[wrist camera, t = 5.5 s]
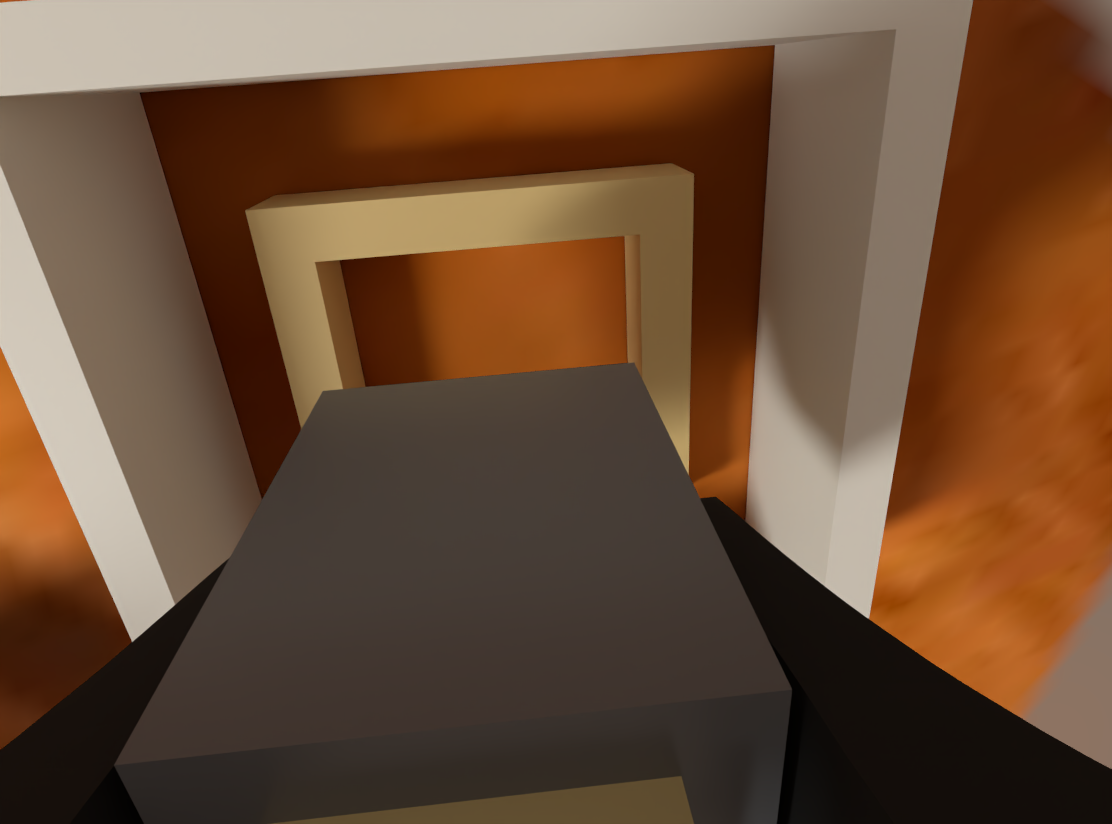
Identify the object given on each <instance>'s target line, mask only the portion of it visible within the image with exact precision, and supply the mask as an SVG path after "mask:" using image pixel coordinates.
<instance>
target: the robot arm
mask: <svg viewBox="0 0 1112 824" xmlns="http://www.w3.org/2000/svg"><path fill="white" fill-rule="evenodd" d="M700 500H701V502H702V504H703V506H704V508H705V510H706V512H707V514H708V516H709V518H710V520H711V522H712V525H713V527H714V529H715V531H716V533H717V535H718V537H719V539H720V541H721V543H722V545H723V547H724V549H725V551H726V554H727V556H728V558H729V560H730V562H731V564H732V566H733V568H734V570H735V572H736V574H737V576H738V578H739V580H740V583H741V585H742V587H743V589H744V591H745V593H746V595H747V597H748V599H749V601H750V603H751V605H752V607H753V609H754V612H755V614H756V616H757V618H758V620H759V622H760V624H761V626H762V628H763V630H764V632H765V634H766V636H767V638H768V641H769V643H770V645H771V647H772V649H773V651H774V653H775V655H776V657H777V659H778V661H779V663H780V665H781V667H782V670H783V672H784V674H785V676H786V678H787V680H788V682H789V684H790V686H791V688H792V696H791V704H790V713H789V722H788V730H787V739H786V748H785V756H784V765H783V774H782V782H781V791H780V800H779V808H778V817H777V824H1112V769H1110V768H1108V767H1106V766H1104V765H1102V764H1101V763H1099V762H1097V761H1095V760H1093V759H1091V758H1089V757H1087V756H1086V755H1084V754H1082V753H1080V752H1078V751H1077V750H1075V749H1073V748H1071V747H1070V746H1068V745H1066V744H1064V743H1063V742H1061V741H1059V740H1057V739H1055V738H1054V737H1052V736H1050V735H1048V734H1047V733H1045V732H1043V731H1041V730H1040V729H1038V728H1036V727H1035V726H1033V725H1031V724H1030V723H1028V722H1026V721H1025V720H1023V719H1022V718H1020V717H1018V716H1017V715H1015V714H1013V713H1012V712H1010V711H1008V710H1007V709H1005V708H1003V707H1002V706H1000V705H998V704H997V703H995V702H993V701H992V700H990V699H988V698H987V697H985V696H984V695H982V694H980V693H979V692H977V691H975V690H974V689H972V688H970V687H969V686H967V685H965V684H964V683H962V682H961V681H959V680H957V679H956V678H954V677H953V676H951V675H950V674H948V673H947V672H945V671H944V670H942V669H940V668H939V667H937V666H936V665H934V664H933V663H931V662H930V661H928V660H927V659H925V658H924V657H922V656H921V655H919V654H918V653H917V652H915V651H914V650H912V649H911V648H909V647H908V646H906V645H905V644H904V643H902V642H901V641H899V640H898V639H896V638H895V637H894V636H892V635H891V634H889V633H888V632H886V631H885V630H883V629H882V628H881V627H879V626H878V625H876V624H875V623H873V622H872V621H871V620H869V619H868V618H866V617H865V616H864V615H862V614H861V613H860V612H858V611H857V610H856V609H854V608H853V607H852V606H850V605H849V604H847V603H846V602H845V601H843V600H842V599H841V598H839V597H838V596H837V595H836V594H834V593H833V592H832V591H830V590H829V589H828V588H826V587H825V586H824V585H823V584H821V583H820V582H819V581H817V580H816V579H815V578H814V577H812V576H811V575H810V574H808V573H807V572H806V571H805V570H803V569H802V568H801V567H800V566H798V565H797V564H796V563H795V562H794V561H792V560H791V559H790V558H789V557H787V556H786V555H785V554H784V553H782V552H781V551H780V550H779V549H778V548H776V547H775V546H774V545H773V544H772V543H770V542H769V541H768V540H767V539H766V538H764V537H763V536H762V535H761V534H760V533H758V532H757V531H756V530H755V529H754V528H752V527H751V526H750V525H749V524H748V523H747V522H745V521H744V520H743V519H742V518H741V517H739V516H738V515H737V514H736V513H735V512H734V511H732V510H731V509H730V508H729V507H728V506H726V505H725V504H724V503H723V502H721V501H720V500H719V499H718V498H717V497H709V498H700ZM228 560H229V558H228V559H227V560H226V561H225V562H224V563H222V564H221V565H220V566H219V567H218V568H217V569H215V570H214V571H213V572H212V573H211V574H210V575H208V576H207V577H206V578H205V579H204V580H203V581H202V582H200V583H199V584H198V585H197V586H196V587H195V588H194V589H192V590H191V591H190V592H189V593H188V594H187V595H186V596H184V597H183V598H182V599H181V600H180V601H179V602H178V603H177V604H175V605H174V606H173V607H172V608H171V609H170V610H169V611H167V612H166V613H165V614H164V615H163V616H162V617H161V618H159V619H158V620H157V621H156V622H155V623H154V624H152V625H151V626H150V627H149V628H148V629H147V630H146V631H144V632H143V633H142V634H141V635H140V636H139V637H137V638H136V639H135V640H134V641H133V642H132V643H131V644H129V645H128V646H127V647H126V648H125V649H124V650H122V651H121V652H120V653H119V654H118V655H117V656H115V657H114V658H113V659H112V660H111V661H110V662H109V663H107V664H106V665H105V666H104V667H103V668H101V669H100V670H99V671H98V672H97V673H95V674H94V675H93V676H92V677H91V678H89V679H88V680H87V681H86V682H84V683H83V684H82V685H81V686H79V687H78V688H77V689H76V690H74V691H73V692H72V693H71V694H69V695H68V696H67V697H66V698H65V699H63V700H62V701H61V702H60V703H58V704H57V705H56V706H55V707H53V708H52V709H51V710H50V711H48V712H47V713H46V714H45V715H44V716H42V717H41V718H40V719H39V720H37V721H36V722H35V723H34V724H32V725H31V726H30V727H29V728H27V729H26V730H25V731H24V732H22V733H21V734H20V735H19V736H18V737H16V738H15V739H14V740H13V741H11V742H10V743H9V744H8V745H6V746H5V747H4V748H3V749H1V750H0V824H144V822H143V821H142V819H141V817H140V815H139V813H138V811H137V809H136V807H135V805H134V803H133V801H132V799H131V797H130V795H129V793H128V792H127V790H126V788H125V786H124V784H123V782H122V780H121V778H120V776H119V774H118V772H117V770H116V768H115V766H114V764H115V763H116V761H117V759H118V757H119V755H120V754H121V752H122V750H123V748H124V746H125V745H126V743H127V741H128V739H129V737H130V736H131V734H132V732H133V730H134V729H135V727H136V725H137V723H138V721H139V720H140V718H141V716H142V714H143V712H144V711H145V709H146V707H147V705H148V703H149V702H150V700H151V698H152V696H153V694H154V693H155V691H156V689H157V687H158V685H159V684H160V682H161V680H162V678H163V677H164V675H165V673H166V671H167V669H168V668H169V666H170V664H171V662H172V660H173V659H174V657H175V655H176V653H177V651H178V650H179V648H180V646H181V644H182V642H183V641H184V639H185V637H186V635H187V633H188V632H189V630H190V628H191V626H192V625H193V623H194V621H195V619H196V617H197V616H198V614H199V612H200V610H201V608H202V607H203V605H204V603H205V601H206V599H207V598H208V596H209V594H210V592H211V590H212V589H213V587H214V585H215V583H216V581H217V580H218V578H219V576H220V574H221V573H222V571H223V569H224V567H225V565H226V564H227V562H228Z"/></svg>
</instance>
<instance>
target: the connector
mask: <svg viewBox="0 0 1112 824" xmlns="http://www.w3.org/2000/svg"><path fill="white" fill-rule="evenodd" d="M791 696H792V688H791V686H790V684H789V682H788V680H787V678H786V676H785V674H784V672H783V670H782V667H781V665H780V663H779V661H778V659H777V657H776V655H775V653H774V651H773V649H772V647H771V645H770V643H769V641H768V638H767V636H766V634H765V632H764V630H763V628H762V626H761V624H760V622H759V620H758V618H757V616H756V614H755V612H754V609H753V607H752V605H751V603H750V601H749V599H748V597H747V595H746V593H745V591H744V589H743V587H742V585H741V583H740V580H739V578H738V576H737V574H736V572H735V570H734V568H733V566H732V564H731V562H730V560H729V558H728V556H727V554H726V551H725V549H724V547H723V545H722V543H721V541H720V539H719V537H718V535H717V533H716V531H715V529H714V527H713V525H712V522H711V520H710V518H709V516H708V514H707V512H706V510H705V508H704V506H703V504H702V502H701V500H700V498H699V496H698V494H697V491H696V489H695V487H694V485H693V483H692V481H691V479H690V477H689V475H688V473H687V471H686V469H685V467H684V465H683V462H682V460H681V458H680V456H679V454H678V452H677V450H676V448H675V446H674V444H673V442H672V440H671V438H670V436H669V433H668V431H667V429H666V427H665V425H664V423H663V421H662V419H661V417H660V415H659V413H658V411H657V409H656V407H655V404H654V402H653V400H652V398H651V396H650V394H649V392H648V390H647V388H646V386H645V384H644V382H643V380H642V378H641V375H640V373H639V371H638V369H637V367H636V365H635V363H634V362H633V363H622V364H611V365H600V366H589V367H578V368H567V369H557V370H546V371H535V372H524V373H513V374H502V375H491V376H480V377H469V378H458V379H447V380H436V381H426V382H415V383H404V384H393V385H382V386H371V387H360V388H349V389H338V390H327V391H322V393H321V395H320V397H319V399H318V400H317V402H316V404H315V406H314V408H313V409H312V411H311V413H310V415H309V417H308V418H307V420H306V422H305V424H304V425H303V427H302V429H301V431H300V433H299V434H298V436H297V438H296V440H295V442H294V443H293V445H292V447H291V449H290V451H289V452H288V454H287V456H286V458H285V460H284V461H283V463H282V465H281V467H280V469H279V470H278V472H277V474H276V476H275V477H274V479H273V481H272V483H271V485H270V486H269V488H268V490H267V492H266V494H265V495H264V497H263V499H262V501H261V503H260V504H259V506H258V508H257V510H256V512H255V513H254V515H253V517H252V519H251V521H250V522H249V524H248V526H247V528H246V529H245V531H244V533H243V535H242V537H241V538H240V540H239V542H238V544H237V546H236V547H235V549H234V551H233V553H232V555H231V556H230V558H229V560H228V562H227V564H226V565H225V567H224V569H223V571H222V573H221V574H220V576H219V578H218V580H217V581H216V583H215V585H214V587H213V589H212V590H211V592H210V594H209V596H208V598H207V599H206V601H205V603H204V605H203V607H202V608H201V610H200V612H199V614H198V616H197V617H196V619H195V621H194V623H193V625H192V626H191V628H190V630H189V632H188V633H187V635H186V637H185V639H184V641H183V642H182V644H181V646H180V648H179V650H178V651H177V653H176V655H175V657H174V659H173V660H172V662H171V664H170V666H169V668H168V669H167V671H166V673H165V675H164V677H163V678H162V680H161V682H160V684H159V685H158V687H157V689H156V691H155V693H154V694H153V696H152V698H151V700H150V702H149V703H148V705H147V707H146V709H145V711H144V712H143V714H142V716H141V718H140V720H139V721H138V723H137V725H136V727H135V729H134V730H133V732H132V734H131V736H130V737H129V739H128V741H127V743H126V745H125V746H124V748H123V750H122V752H121V754H120V755H119V757H118V759H117V761H116V763H115V764H114V766H115V768H116V770H117V772H118V774H119V776H120V778H121V780H122V782H123V784H124V786H125V788H126V790H127V792H128V793H129V795H130V797H131V799H132V801H133V803H134V805H135V807H136V809H137V811H138V813H139V815H140V817H141V819H142V821H143V822H144V824H777V817H778V808H779V800H780V791H781V782H782V774H783V765H784V756H785V748H786V739H787V730H788V722H789V713H790V704H791Z"/></svg>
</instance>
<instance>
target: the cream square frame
mask: <svg viewBox="0 0 1112 824" xmlns="http://www.w3.org/2000/svg"><path fill="white" fill-rule="evenodd" d="M972 4H973V0H33V1H18V2H4V3H0V346H1V349H2V351H3V353H4V355H5V358H6V360H7V362H8V364H9V367H10V369H11V371H12V373H13V376H14V378H15V380H16V382H17V385H18V387H19V389H20V391H21V394H22V396H23V398H24V400H25V403H26V405H27V407H28V409H29V412H30V414H31V416H32V418H33V420H34V423H35V425H36V427H37V429H38V432H39V434H40V436H41V438H42V441H43V443H44V445H45V447H46V450H47V452H48V454H49V456H50V459H51V461H52V463H53V465H54V468H55V470H56V472H57V474H58V477H59V479H60V481H61V483H62V486H63V488H64V490H65V492H66V495H67V497H68V499H69V501H70V503H71V506H72V508H73V510H74V512H75V515H76V517H77V519H78V521H79V524H80V526H81V528H82V530H83V533H84V535H85V537H86V539H87V542H88V544H89V546H90V548H91V551H92V553H93V555H94V557H95V560H96V562H97V564H98V566H99V569H100V571H101V573H102V575H103V578H104V580H105V582H106V584H107V586H108V589H109V591H110V593H111V595H112V598H113V600H114V602H115V604H116V607H117V609H118V611H119V613H120V616H121V618H122V620H123V622H124V625H125V627H126V629H127V631H128V634H129V636H130V638H131V640H132V642H133V641H134V640H135V639H136V638H137V637H139V636H140V635H141V634H142V633H143V632H144V631H146V630H147V629H148V628H149V627H150V626H151V625H152V624H154V623H155V622H156V621H157V620H158V619H159V618H161V617H162V616H163V615H164V614H165V613H166V612H167V611H169V610H170V609H171V608H172V607H173V606H174V605H175V604H177V603H178V602H179V601H180V600H181V599H182V598H183V597H184V596H186V595H187V594H188V593H189V592H190V591H191V590H192V589H194V588H195V587H196V586H197V585H198V584H199V583H200V582H202V581H203V580H204V579H205V578H206V577H207V576H208V575H210V574H211V573H212V572H213V571H214V570H215V569H217V568H218V567H219V566H220V565H221V564H222V563H224V562H225V561H226V560H227V559H228V558H230V556H231V555H232V553H233V551H234V549H235V547H236V546H237V544H238V542H239V540H240V538H241V537H242V535H243V533H244V531H245V529H246V528H247V526H248V524H249V522H250V521H251V519H252V517H253V515H254V513H255V512H256V510H257V508H258V506H259V504H260V503H261V501H262V498H261V495H260V492H259V488H258V485H257V482H256V478H255V475H254V472H253V468H252V465H251V462H250V458H249V455H248V452H247V448H246V445H245V442H244V438H243V435H242V432H241V429H240V425H239V422H238V419H237V415H236V412H235V409H234V405H233V402H232V399H231V395H230V392H229V389H228V385H227V382H226V379H225V375H224V372H223V369H222V365H221V362H220V359H219V355H218V352H217V349H216V345H215V342H214V339H213V336H212V332H211V329H210V326H209V322H208V319H207V316H206V312H205V309H204V306H203V302H202V299H201V296H200V292H199V289H198V286H197V282H196V279H195V276H194V272H193V269H192V266H191V262H190V259H189V256H188V252H187V249H186V246H185V243H184V239H183V236H182V233H181V229H180V226H179V223H178V219H177V216H176V213H175V209H174V206H173V203H172V199H171V196H170V193H169V189H168V186H167V183H166V179H165V176H164V173H163V169H162V166H161V163H160V159H159V156H158V153H157V150H156V146H155V143H154V140H153V136H152V133H151V130H150V126H149V123H148V120H147V116H146V113H145V110H144V106H143V103H142V100H141V96H140V93H141V92H155V91H168V90H181V89H195V88H208V87H221V86H235V85H248V84H261V83H275V82H288V81H301V80H315V79H328V78H341V77H355V76H368V75H381V74H395V73H408V72H421V71H435V70H448V69H462V68H475V67H488V66H502V65H515V64H528V63H542V62H555V61H568V60H582V59H595V58H608V57H622V56H635V55H648V54H662V53H675V52H688V51H702V50H715V49H728V48H742V47H755V46H768V45H775V53H774V69H773V85H772V101H771V117H770V133H769V149H768V166H767V182H766V198H765V214H764V230H763V246H762V262H761V278H760V294H759V310H758V326H757V343H756V359H755V375H754V391H753V407H752V423H751V439H750V455H749V471H748V487H747V503H746V520H745V522H747V523H748V524H749V525H750V526H751V527H752V528H754V529H755V530H756V531H757V532H758V533H760V534H761V535H762V536H763V537H764V538H766V539H767V540H768V541H769V542H770V543H772V544H773V545H774V546H775V547H776V548H778V549H779V550H780V551H781V552H782V553H784V554H785V555H786V556H787V557H789V558H790V559H791V560H792V561H794V562H795V563H796V564H797V565H798V566H800V567H801V568H802V569H803V570H805V571H806V572H807V573H808V574H810V575H811V576H812V577H814V578H815V579H816V580H817V581H819V582H820V583H821V584H823V585H824V586H825V587H826V588H828V589H829V590H830V591H832V592H833V593H834V594H836V595H837V596H838V597H839V598H841V599H842V600H843V601H845V602H846V603H847V604H849V605H850V606H852V607H853V608H854V609H856V610H857V611H858V612H860V613H861V614H862V615H864V616H865V617H866V618H868V619H869V615H870V609H871V603H872V597H873V591H874V585H875V579H876V573H877V567H878V561H879V555H880V549H881V544H882V538H883V532H884V526H885V520H886V514H887V508H888V502H889V496H890V490H891V484H892V478H893V472H894V466H895V461H896V455H897V449H898V443H899V437H900V431H901V425H902V419H903V413H904V407H905V401H906V395H907V389H908V383H909V378H910V372H911V366H912V360H913V354H914V348H915V342H916V336H917V330H918V324H919V318H920V312H921V306H922V300H923V295H924V289H925V283H926V277H927V271H928V265H929V259H930V253H931V247H932V241H933V235H934V229H935V223H936V217H937V212H938V206H939V200H940V194H941V188H942V182H943V176H944V170H945V164H946V158H947V152H948V146H949V140H950V134H951V129H952V123H953V117H954V111H955V105H956V99H957V93H958V87H959V81H960V75H961V69H962V63H963V57H964V51H965V46H966V40H967V34H968V28H969V22H970V16H971V10H972ZM693 209H694V173H691V172H689V171H687V170H685V169H683V168H681V167H679V166H677V165H675V164H672V163H667V164H654V165H642V166H630V167H617V168H605V169H593V170H580V171H568V172H556V173H543V174H531V175H519V176H506V177H494V178H482V179H469V180H457V181H445V182H432V183H420V184H408V185H395V186H383V187H371V188H358V189H346V190H334V191H321V192H309V193H297V194H285V195H274V196H272V197H270V198H268V199H267V200H265V201H263V202H261V203H259V204H257V205H255V206H253V207H251V208H249V209H247V210H245V213H246V216H247V220H248V224H249V228H250V232H251V236H252V240H253V244H254V248H255V251H256V255H257V259H258V263H259V267H260V271H261V275H262V279H263V282H264V286H265V290H266V294H267V298H268V302H269V306H270V310H271V313H272V317H273V321H274V325H275V329H276V333H277V337H278V341H279V344H280V348H281V352H282V356H283V360H284V364H285V368H286V372H287V375H288V379H289V383H290V387H291V391H292V395H293V399H294V403H295V406H296V410H297V414H298V418H299V422H300V426H301V429H302V427H303V425H304V424H305V422H306V420H307V418H308V417H309V415H310V413H311V411H312V409H313V408H314V406H315V404H316V402H317V400H318V399H319V397H320V395H321V393H322V391H327V390H338V389H349V388H360V387H366V386H365V381H364V377H363V372H362V367H361V362H360V357H359V352H358V347H357V343H356V338H355V333H354V328H353V323H352V318H351V313H350V309H349V304H348V299H347V294H346V289H345V284H344V279H343V275H342V270H341V265H340V260H345V259H357V258H369V257H380V256H392V255H404V254H416V253H427V252H439V251H451V250H463V249H475V248H486V247H498V246H510V245H522V244H533V243H545V242H557V241H569V240H581V239H592V238H604V237H616V236H625V271H626V312H627V353H628V363H633V362H634V363H635V365H636V367H637V369H638V371H639V373H640V375H641V378H642V380H643V382H644V384H645V386H646V388H647V390H648V392H649V394H650V396H651V398H652V400H653V402H654V404H655V407H656V409H657V411H658V413H659V415H660V417H661V419H662V421H663V423H664V425H665V427H666V429H667V431H668V433H669V436H670V438H671V440H672V442H673V444H674V446H675V448H676V450H677V452H678V454H679V456H680V458H681V460H682V462H683V465H684V467H685V469H686V471H687V473H688V475H689V428H690V373H691V319H692V264H693Z"/></svg>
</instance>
